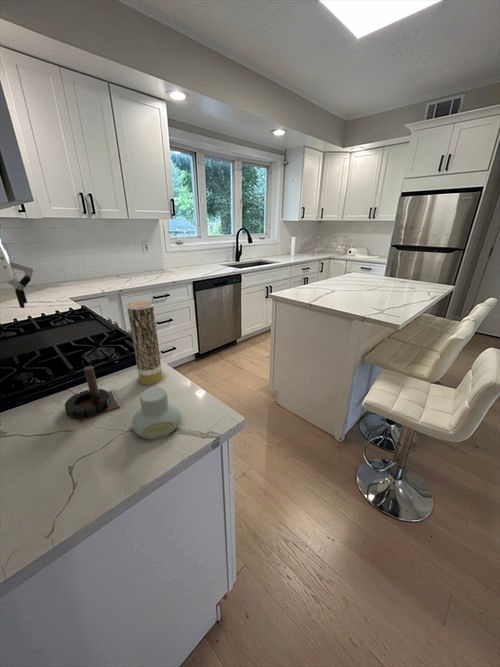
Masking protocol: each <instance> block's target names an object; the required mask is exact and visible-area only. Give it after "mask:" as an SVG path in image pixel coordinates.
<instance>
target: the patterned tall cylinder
mask: <svg viewBox="0 0 500 667" xmlns="http://www.w3.org/2000/svg"><path fill="white" fill-rule="evenodd" d="M126 308H127V314H128V322H129V326H130V333H131V338H132V344H133V345H132V346H133V350H134V351H133V352H134V356H135V363H136V368H137V373H138V380H139V383H140V384H142V385H154V384H157V383H159V382H161V381H162V379H163V371H162V362H161V356H160V355H161V354H160V346H159V339H158V332H157V323H156V316H155V308H154V302H152V301H149V300H138V301H132V302H129V303H127V305H126Z"/></svg>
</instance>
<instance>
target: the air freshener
mask: <svg viewBox="0 0 500 667" xmlns="http://www.w3.org/2000/svg"><path fill="white" fill-rule="evenodd" d="M139 402H140V407H139V408H138V409H137V411H136V412H135V413H134V415H133V416H132V420H131V426H132V429H133V431H134V432H135V434H137V435H138V436H139V437H141V438H143V439H147V440H154V439H157V438H162V437H165V436H167V435H170V434H171V433H172V432H173V431H175V430H176V429H177V427H178V426H179V425H180V424H179V423H180V421H181V411H180V409H179V408H178V406H177V405H176V404H174V403H173V402H170V401H169V400H168V393H167V390H165V389H164V388H161V387H151V388H148V389H145V390H144V391H143V392H142V393H141V394H140V396H139Z"/></svg>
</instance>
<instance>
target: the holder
mask: <svg viewBox="0 0 500 667" xmlns="http://www.w3.org/2000/svg"><path fill="white" fill-rule="evenodd" d="M83 372H84V375H85V378H86V379H85V380H86V383H87V387H88V390H89V391H90V395H91V399H89V400H86V401H83V402H82V403H80V404H79V405H78V406H77V407H86V406H89V405H92V404H94V403H96V402H97V401H99V399H100V395H99V390H98V389H99V387H98V386H99V385H98V383H97V382H98V381H97V378H96V374H95V370H94V366H92V365H88V366H85V367H84V368H83ZM107 392H108V393H109V396H110V404H109V405H108V407H106V409H105V410H103V411H102V412H100V413H98V412H97V414H96V415H94V416H91V417H86V418H79V420H80V422H81V423H82V422H85V421H88V420H90V419H93V418H96V417H98V416H101V415H104V414H106V413H110V412H112V411H115V410H118V409H121V406H120V405H119V404H120V403H119V402H118V400H117V399H116V397H115V394H114V393H113V390H108V391H107Z"/></svg>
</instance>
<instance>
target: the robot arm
mask: <svg viewBox="0 0 500 667" xmlns="http://www.w3.org/2000/svg"><path fill="white" fill-rule="evenodd" d="M14 269H15V270H18V271H21V272H23V273H24V276H23V277H22V278H21V279H20V280H19V279H17V278H15V272H14ZM33 273H34V268H33V267H32V266H29V265H25V264H22V263H19V262H16V261H12V260H10V257H9V255H8V251H7V250H6V247H5V244H4V243H3V241H2V239H1V238H0V284H9V285H10V286H12V287H13V288H15V290H14V292H15V296H16V298H17V301H18V305H19V308H20V309H25V308H26V307H25V304H28V300H27V296H26V293H25V290H24V289H25V288H26V287H27V285H28V284H29V283H30V282H31V280H32V278H33V277H32V276H33Z"/></svg>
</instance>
